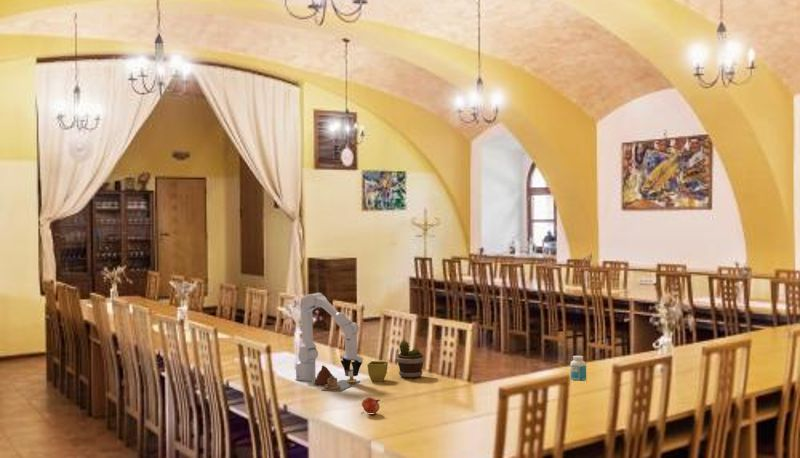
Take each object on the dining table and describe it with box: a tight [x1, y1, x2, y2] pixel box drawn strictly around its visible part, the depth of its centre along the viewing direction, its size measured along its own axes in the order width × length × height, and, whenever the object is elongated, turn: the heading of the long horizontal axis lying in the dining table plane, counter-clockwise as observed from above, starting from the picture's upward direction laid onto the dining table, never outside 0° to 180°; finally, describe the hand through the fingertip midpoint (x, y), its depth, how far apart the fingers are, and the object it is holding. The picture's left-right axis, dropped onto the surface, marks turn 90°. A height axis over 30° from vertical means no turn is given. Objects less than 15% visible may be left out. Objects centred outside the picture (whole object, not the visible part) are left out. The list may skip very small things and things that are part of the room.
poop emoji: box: [314, 365, 334, 387], centre depth 393 cm, size 10×8×9 cm
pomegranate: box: [360, 397, 381, 416], centre depth 330 cm, size 7×7×10 cm
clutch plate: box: [344, 368, 355, 377], centre depth 393 cm, size 6×6×2 cm
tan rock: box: [324, 375, 340, 389], centre depth 382 cm, size 7×7×6 cm
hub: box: [346, 376, 357, 384], centre depth 393 cm, size 5×5×5 cm
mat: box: [321, 379, 361, 393], centre depth 388 cm, size 10×24×1 cm, turn 161°
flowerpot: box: [395, 338, 426, 380], centre depth 407 cm, size 14×15×20 cm
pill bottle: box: [569, 355, 587, 381], centre depth 385 cm, size 8×7×14 cm
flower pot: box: [366, 360, 389, 382], centre depth 400 cm, size 9×9×9 cm
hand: (351, 375), depth 393 cm, fingers closed on clutch plate, 6 cm apart
